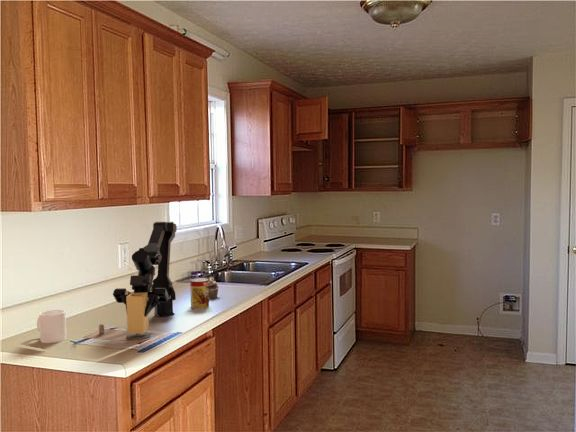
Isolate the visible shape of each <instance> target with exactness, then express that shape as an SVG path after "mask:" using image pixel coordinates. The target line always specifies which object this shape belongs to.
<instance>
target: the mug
mask: <svg viewBox="0 0 576 432" xmlns="http://www.w3.org/2000/svg"><path fill="white" fill-rule="evenodd" d="M38 316H39V317H38V318H37V320H36V327H37V331H38V332H39V337H40V338H39V340H40V342H41V343H43V344H53V343H54V344H55V343H59V342H62V341H65V340H66V339H67V318H66V310H64V309H51V310H46V311H45V310H44V311H41V312H39V314H38Z"/></svg>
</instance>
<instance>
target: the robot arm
mask: <svg viewBox="0 0 576 432" xmlns="http://www.w3.org/2000/svg"><path fill="white" fill-rule="evenodd" d="M176 233H177V224H176V223H175V222H174V221H154V222H153V223H152V232H151V235H150V237H149V240H148V242H147V244H146V245H145V246H143V247H139V249H138V250H135V252H134V253H132V254H131V260H132V262H133V265H134V266H135V269H136V270H137V271H138V273H137V275H130V277H129V278H130V280H129V286H131V290H132V291H129V290H127V288H123V287H122V288H121V287H120V288H117V287H116V288H114V290H113V292H112V296H113V297H114V300H115V301H116V303H119V304H122V303H123V305H125V312H126V313H127V301H126V297H127V296H128V295H129V294H131V293H148V302H147V306H146V309H145V314H144V316H145V317H146V316H147V315H148V316H149V314H150V312H151V311H152V310H153V309H154V315H155V316H157V317H160V318H162V317H167V316H173V315H175V314H176V313H175V312H174V307H173V305H174V304H173V301H175V300H177V299H176V292H175V288H174V286H173V282H172V280H171V278H170V263H171V262H170V259H171V243H172V242H173V240H174V239H175V236H176ZM155 266H157V275H156V267H155ZM155 276H156V277H155ZM154 277H155V278H154Z"/></svg>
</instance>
